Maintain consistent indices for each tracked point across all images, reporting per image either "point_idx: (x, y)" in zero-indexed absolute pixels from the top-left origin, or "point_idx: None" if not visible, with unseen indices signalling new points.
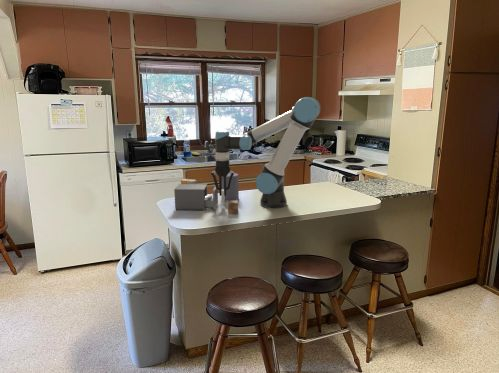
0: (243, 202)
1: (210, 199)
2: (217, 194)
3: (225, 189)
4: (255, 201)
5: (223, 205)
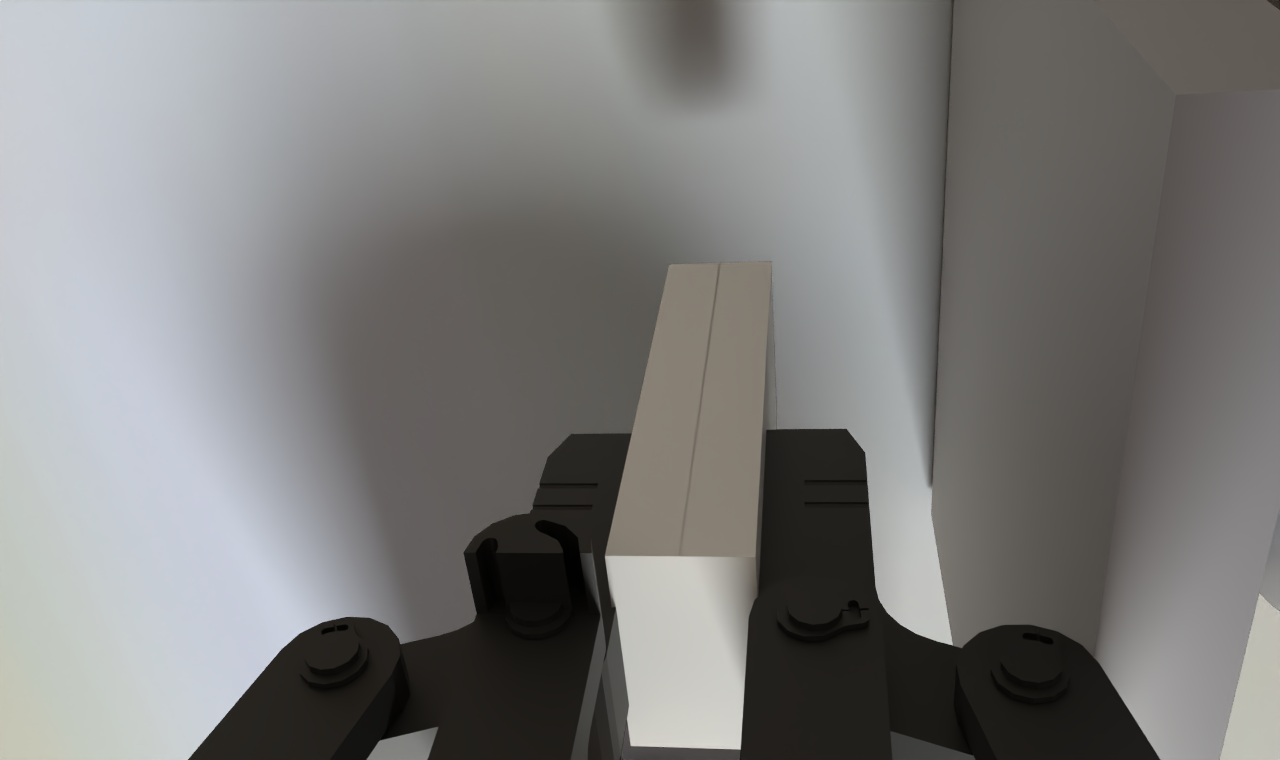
0: None
1: None
2: None
3: (507, 602)
4: (60, 730)
5: None
